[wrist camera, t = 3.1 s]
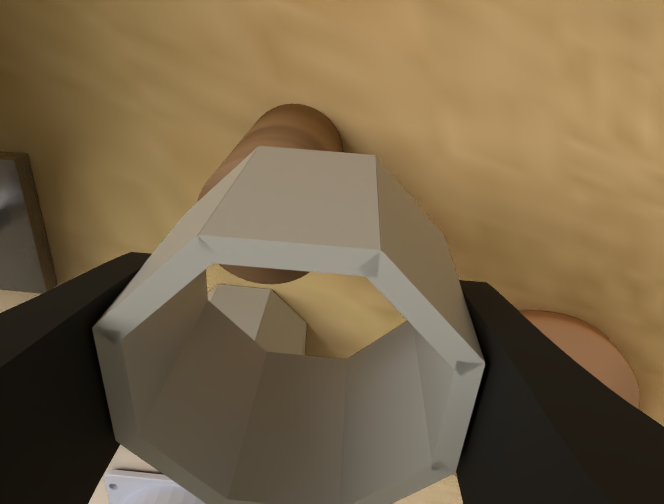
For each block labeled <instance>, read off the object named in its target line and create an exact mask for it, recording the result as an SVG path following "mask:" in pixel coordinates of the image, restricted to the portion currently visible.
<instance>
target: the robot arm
mask: <svg viewBox="0 0 664 504" xmlns="http://www.w3.org/2000/svg"><path fill="white" fill-rule="evenodd" d="M151 255H152V254H148V253H137V252H130V253H128V254H125V255H122V256H120V257H117V258H115V259H113V260H111V261H109V262H106V263H104V264H102V265H100V266H98V267H96V268H94V269H92V270H90V271H88V272H86V273H84V274H82V275H80V276H78V277H76V278H74V279H72V280H70V281H68V282H66V283H64V284H61V285H59V286H57V287H55V288H53V289H51V290H49V291H47V292H45V293H43V294H41V295H39V296H37V297H35V298H33V299H31V300H28V301H26V302H24V303H22V304H19V305H17V306H15V307H13V308H11V309H8V310H6V311H4V312H2V313H0V504H88V503H89V501H90V499H91V497H92V495H93V493H94V491H95V489H96V487H97V485H98V483H99V481H100V479H101V478H102V476H103V474H104V472H105V471H106V469H107V467H108V465H109V463H110V462H111V460H112V458H113V456H114V455H115V453H116V451H117V449H118V447H119V446H120V443H118V442H117V441H116V440H115V435H114V430H113V426H112V421H111V416H110V411H109V407H108V402H107V397H106V392H105V388H104V383H103V378H102V373H101V369H100V364H99V359H98V354H97V350H96V345H95V340H94V335H93V331H92V327H93V326H94V325H95V324H96V322H97V321H98V320H99V319H100V317H101V316H102V315H103V314H104V313H105V311H106V310H107V309H108V308H109V306H110V305H111V304H112V303H113V301H114V300H115V299H116V298H117V296H118V295H119V294H120V293H121V292H122V290H123V289H124V288H125V287H126V285H127V284H128V283H129V282H130V281H131V279H132V278H133V277H134V276H135V275H136V274H137V272H138V271H139V270H140V269H141V267H142V266H143V265H144V263H145V262H146V261H147V259H148V258H149V257H150V256H151ZM459 282H460V286H461V289H462V292H463V295H464V298H465V301H466V304H467V308H468V311H469V314H470V317H471V320H472V323H473V326H474V329H475V333H476V336H477V339H478V342H479V345H480V348H481V351H482V355H483V358H484V361H485V367H484V370H483V374H482V378H481V381H480V385H479V389H478V392H477V396H476V400H475V403H474V407H473V411H472V414H471V418H470V422H469V425H468V429H467V432H466V436H465V440H464V443H463V447H462V451H461V454H460V458H459V462H458V465H457V469H456V474H457V479H458V483H459V487H460V491H461V496H462V500H463V504H664V427H663V426H662V425H660V424H659V423H658V422H656V421H655V420H653V419H652V418H650V417H649V416H647V415H646V414H645V413H643V412H642V411H640V410H639V409H637V408H636V407H634V406H633V405H632V404H630V403H629V402H627V401H626V400H625V399H623V398H622V397H620V396H619V395H618V394H616V393H615V392H614V391H612V390H611V389H610V388H608V387H607V386H606V385H605V384H603V383H602V382H601V381H600V380H598V379H597V378H596V377H595V376H593V375H592V374H591V373H589V372H588V371H587V370H586V369H584V368H583V367H582V366H581V365H579V364H578V363H577V362H576V361H575V360H573V359H572V358H571V357H570V356H569V355H567V354H566V353H565V352H564V351H563V350H561V349H560V348H559V347H558V346H557V345H556V344H555V343H553V342H552V341H551V340H550V339H549V338H548V337H547V336H546V335H544V334H543V333H542V332H541V331H540V330H539V329H538V328H537V327H536V326H534V325H533V324H532V323H531V322H530V321H529V320H528V319H527V318H526V317H525V316H524V315H522V314H521V313H520V312H519V311H518V310H517V309H516V308H515V307H514V306H513V305H512V304H511V303H509V302H508V301H507V300H506V299H505V298H504V297H503V296H502V295H501V294H500V293H499V292H497V291H496V290H495V289H494V288H493V287H492V286H490V285H489V284H488V283H486V282H475V281H463V280H459ZM104 482H105V486H106V491H107V495H108V500H109V504H206V503H204V502H203V501H201V500H200V499H198V498H197V497H196V496H194V495H193V494H191V493H190V492H188V491H187V490H186V489H184V488H183V487H181V486H180V485H178V484H177V483H176V482H174V481H173V480H171V479H170V478H168V477H167V476H165V475H164V474H154V473H144V472H134V471H124V470H115V469H114V470H109V471H107V473H106V474H105V476H104Z"/></svg>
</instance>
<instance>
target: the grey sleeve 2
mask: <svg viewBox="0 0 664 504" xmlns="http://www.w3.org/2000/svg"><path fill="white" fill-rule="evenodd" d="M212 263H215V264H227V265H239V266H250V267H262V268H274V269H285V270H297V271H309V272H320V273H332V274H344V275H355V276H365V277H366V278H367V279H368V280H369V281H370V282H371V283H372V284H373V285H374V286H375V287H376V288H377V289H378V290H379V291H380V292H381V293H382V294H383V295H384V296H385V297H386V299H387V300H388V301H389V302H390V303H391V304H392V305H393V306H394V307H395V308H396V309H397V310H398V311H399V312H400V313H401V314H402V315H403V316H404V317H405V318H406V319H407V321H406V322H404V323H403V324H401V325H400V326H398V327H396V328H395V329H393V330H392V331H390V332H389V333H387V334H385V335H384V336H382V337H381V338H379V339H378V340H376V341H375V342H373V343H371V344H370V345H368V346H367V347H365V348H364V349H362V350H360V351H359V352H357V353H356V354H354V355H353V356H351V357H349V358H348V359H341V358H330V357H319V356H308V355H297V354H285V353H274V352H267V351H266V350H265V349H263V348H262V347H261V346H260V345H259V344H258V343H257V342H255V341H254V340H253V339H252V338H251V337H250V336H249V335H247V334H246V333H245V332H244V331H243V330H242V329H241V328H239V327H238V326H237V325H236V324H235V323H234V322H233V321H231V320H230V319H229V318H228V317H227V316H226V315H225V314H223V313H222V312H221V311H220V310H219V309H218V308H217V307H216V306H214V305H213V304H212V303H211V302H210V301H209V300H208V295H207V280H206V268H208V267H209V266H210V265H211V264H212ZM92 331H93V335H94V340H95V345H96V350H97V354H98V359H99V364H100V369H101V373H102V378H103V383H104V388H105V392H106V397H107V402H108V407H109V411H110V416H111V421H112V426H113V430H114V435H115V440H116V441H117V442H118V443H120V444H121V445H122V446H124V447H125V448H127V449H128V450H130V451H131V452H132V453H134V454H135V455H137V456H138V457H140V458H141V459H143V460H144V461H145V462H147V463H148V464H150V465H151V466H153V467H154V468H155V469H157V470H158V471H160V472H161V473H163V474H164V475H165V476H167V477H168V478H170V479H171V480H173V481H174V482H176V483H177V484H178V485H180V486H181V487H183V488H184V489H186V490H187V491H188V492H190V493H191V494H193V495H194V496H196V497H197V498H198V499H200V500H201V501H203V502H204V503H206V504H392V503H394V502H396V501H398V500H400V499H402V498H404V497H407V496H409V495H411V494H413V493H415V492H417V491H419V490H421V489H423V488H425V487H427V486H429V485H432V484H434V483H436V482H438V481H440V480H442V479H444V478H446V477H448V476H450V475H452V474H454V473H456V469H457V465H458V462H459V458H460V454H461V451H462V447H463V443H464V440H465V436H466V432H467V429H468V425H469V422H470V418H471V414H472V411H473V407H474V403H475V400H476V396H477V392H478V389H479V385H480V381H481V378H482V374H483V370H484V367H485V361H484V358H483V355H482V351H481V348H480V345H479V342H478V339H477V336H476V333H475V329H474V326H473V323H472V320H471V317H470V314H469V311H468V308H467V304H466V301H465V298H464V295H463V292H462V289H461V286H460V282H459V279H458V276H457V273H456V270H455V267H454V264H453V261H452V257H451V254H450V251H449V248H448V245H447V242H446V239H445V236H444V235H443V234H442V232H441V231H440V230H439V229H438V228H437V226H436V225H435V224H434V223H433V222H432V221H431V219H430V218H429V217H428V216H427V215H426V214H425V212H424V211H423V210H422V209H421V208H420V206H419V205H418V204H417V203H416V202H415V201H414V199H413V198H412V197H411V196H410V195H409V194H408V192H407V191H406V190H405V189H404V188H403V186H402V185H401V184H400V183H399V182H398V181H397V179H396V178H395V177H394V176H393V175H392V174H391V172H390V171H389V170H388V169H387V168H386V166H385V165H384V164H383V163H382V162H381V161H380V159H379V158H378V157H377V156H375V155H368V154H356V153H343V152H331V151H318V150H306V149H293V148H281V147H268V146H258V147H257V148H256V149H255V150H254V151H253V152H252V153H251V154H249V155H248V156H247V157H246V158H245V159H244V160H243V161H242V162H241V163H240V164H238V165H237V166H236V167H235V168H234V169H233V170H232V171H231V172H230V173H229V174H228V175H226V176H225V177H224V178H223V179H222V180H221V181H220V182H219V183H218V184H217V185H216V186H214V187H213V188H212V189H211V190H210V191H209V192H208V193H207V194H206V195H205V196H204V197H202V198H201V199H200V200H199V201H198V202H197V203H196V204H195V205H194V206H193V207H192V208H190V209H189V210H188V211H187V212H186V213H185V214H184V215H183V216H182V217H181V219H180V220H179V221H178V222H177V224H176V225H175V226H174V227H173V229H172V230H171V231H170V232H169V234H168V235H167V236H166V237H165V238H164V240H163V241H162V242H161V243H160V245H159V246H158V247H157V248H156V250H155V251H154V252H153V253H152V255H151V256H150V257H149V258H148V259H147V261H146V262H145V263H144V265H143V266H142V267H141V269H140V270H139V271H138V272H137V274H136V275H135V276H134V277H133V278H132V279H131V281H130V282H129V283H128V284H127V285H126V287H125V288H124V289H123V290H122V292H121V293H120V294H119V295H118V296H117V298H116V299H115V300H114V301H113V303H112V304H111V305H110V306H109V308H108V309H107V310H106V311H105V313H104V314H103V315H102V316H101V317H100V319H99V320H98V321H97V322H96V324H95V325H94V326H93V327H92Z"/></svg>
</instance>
